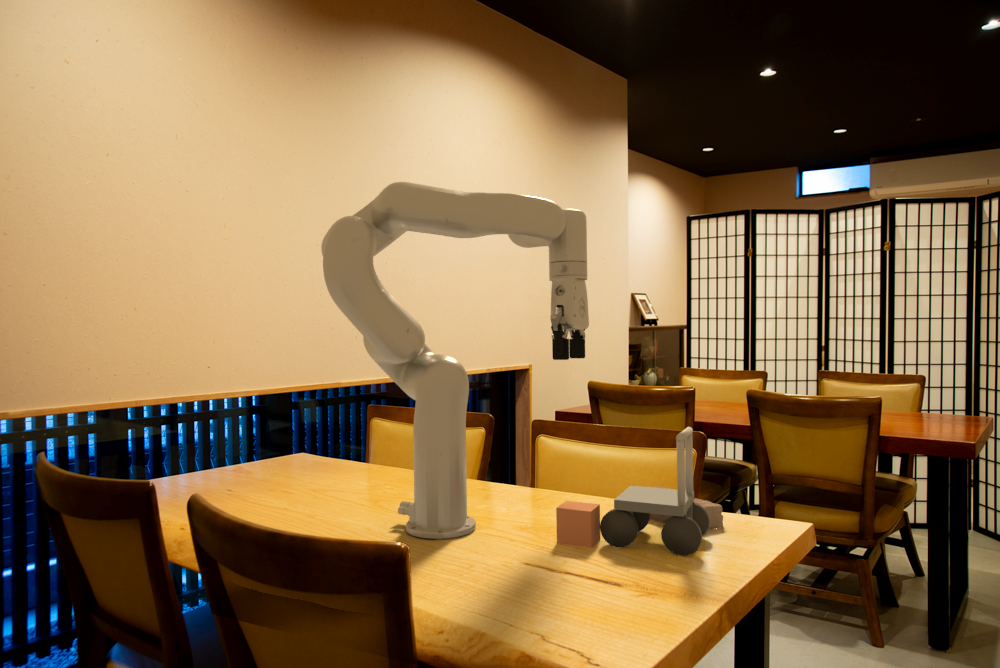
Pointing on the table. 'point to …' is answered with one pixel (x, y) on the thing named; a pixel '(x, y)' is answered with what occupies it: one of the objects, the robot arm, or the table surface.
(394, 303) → the robot arm
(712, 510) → the brick
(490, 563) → the table surface
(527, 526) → the table surface
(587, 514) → the block
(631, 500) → the trolley
